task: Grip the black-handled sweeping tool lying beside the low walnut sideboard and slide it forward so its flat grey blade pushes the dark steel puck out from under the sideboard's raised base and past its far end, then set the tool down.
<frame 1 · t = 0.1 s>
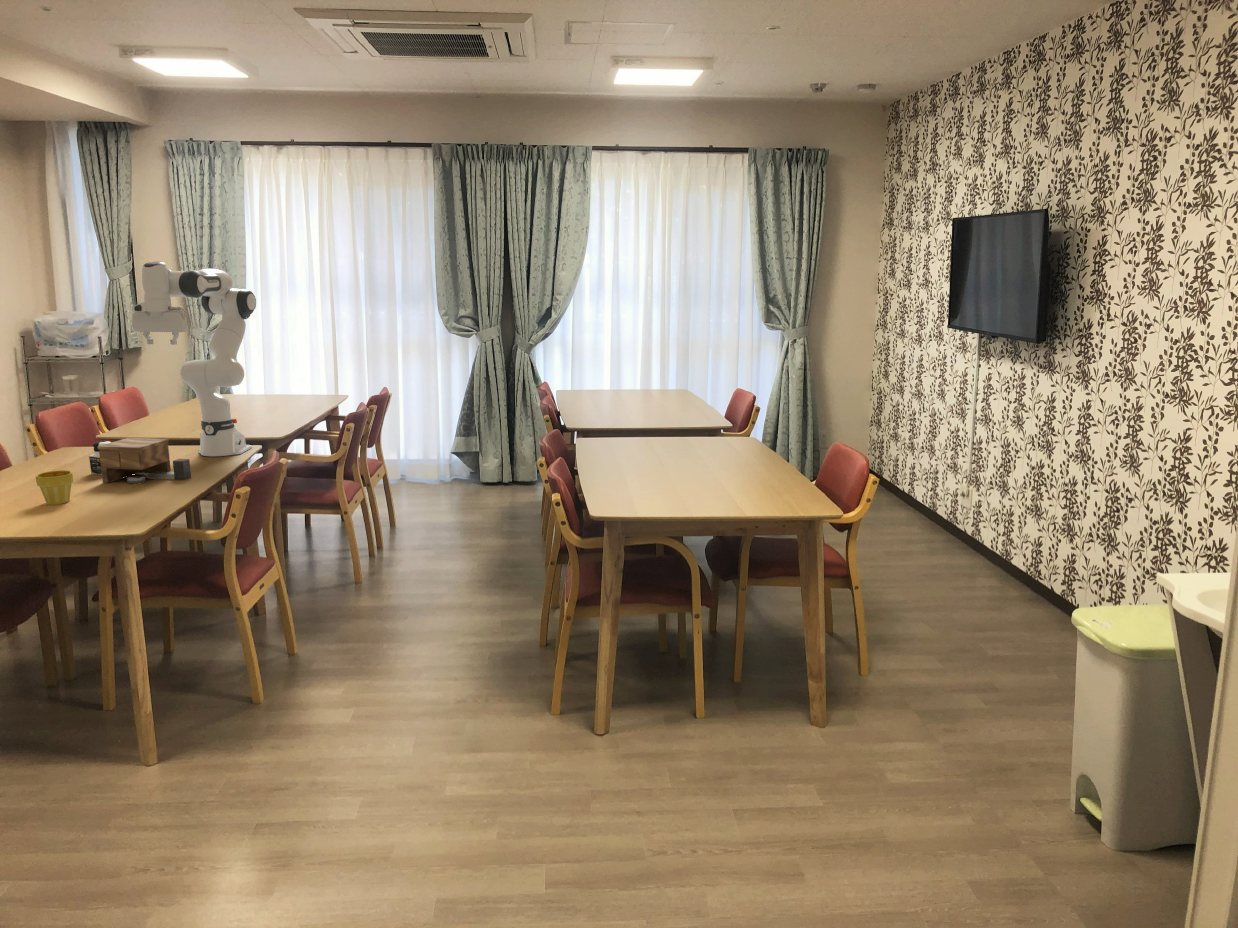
hand: (162, 344, 339), 48 cm above the table, tool pointing down, fingers open, 8 cm apart
blade tool: (182, 478, 335), on the table
plant pot: (57, 502, 301), on the table
medicine bottle: (106, 473, 344), on the table
steel puck: (136, 482, 329), on the table
cabinet: (137, 478, 334), on the table
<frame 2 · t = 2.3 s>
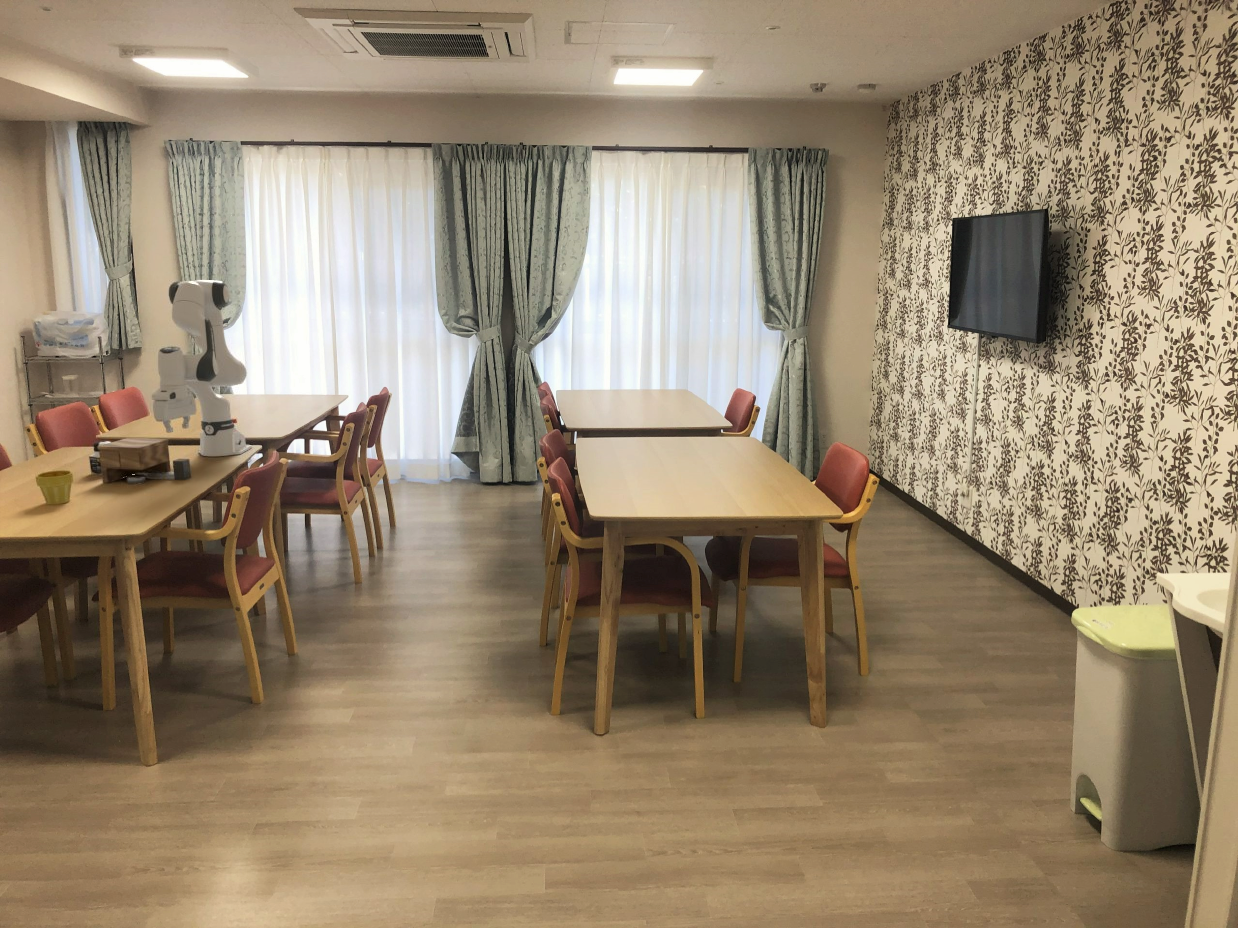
hand: (177, 430, 331), 18 cm above the table, tool pointing down, fingers open, 8 cm apart
nothing on the table moved.
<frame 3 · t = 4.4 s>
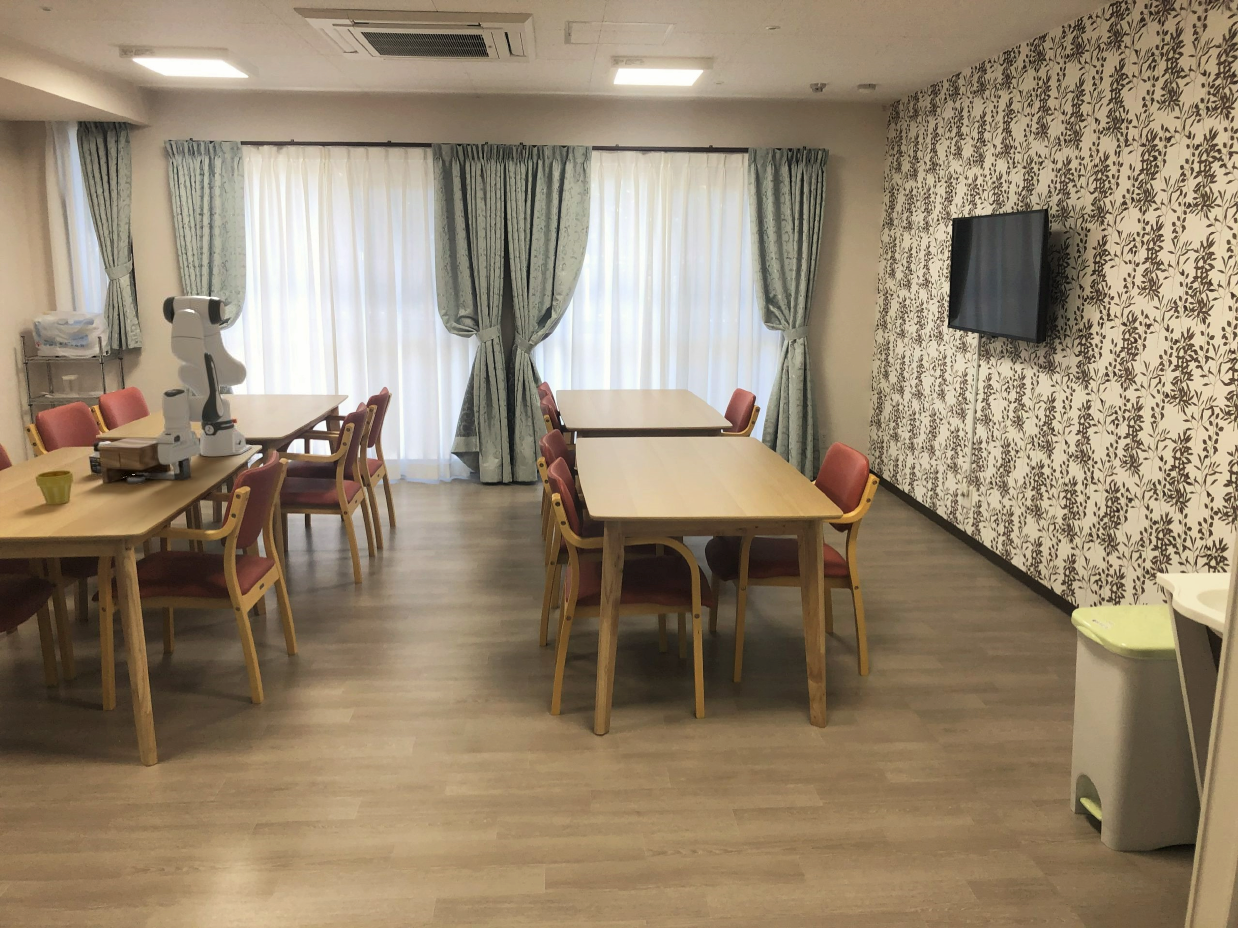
hand: (182, 471, 335), 3 cm above the table, tool pointing down, fingers closed on blade tool, 4 cm apart
blade tool: (182, 478, 335), on the table, touching gripper
everything else where it was.
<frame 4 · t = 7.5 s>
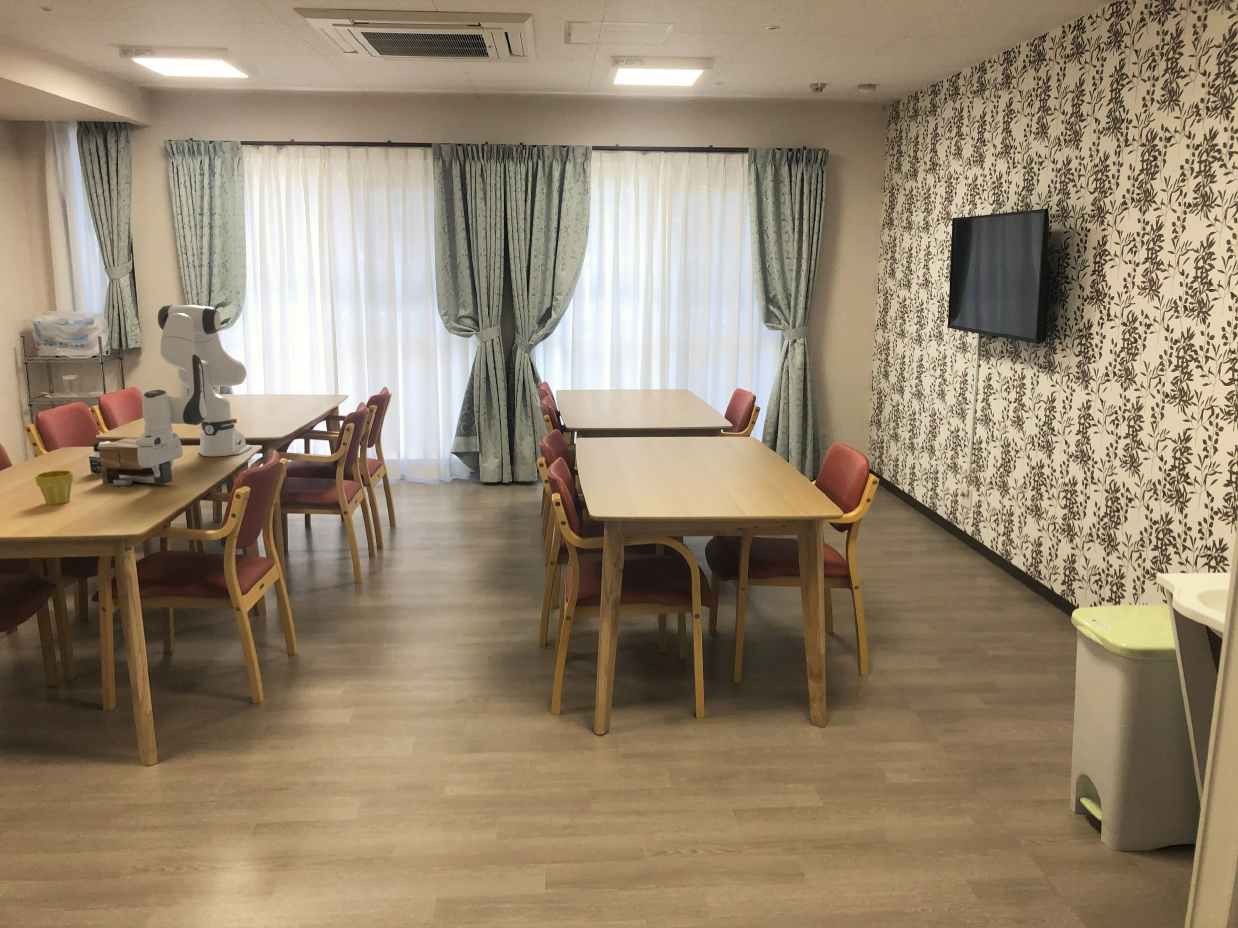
hand: (163, 475, 324), 4 cm above the table, tool pointing down, fingers closed on blade tool, 4 cm apart
blade tool: (163, 482, 324), point 1 cm above the table, touching gripper, steel puck
steel puck: (123, 486, 323), on the table, touching blade tool
everything else where it was.
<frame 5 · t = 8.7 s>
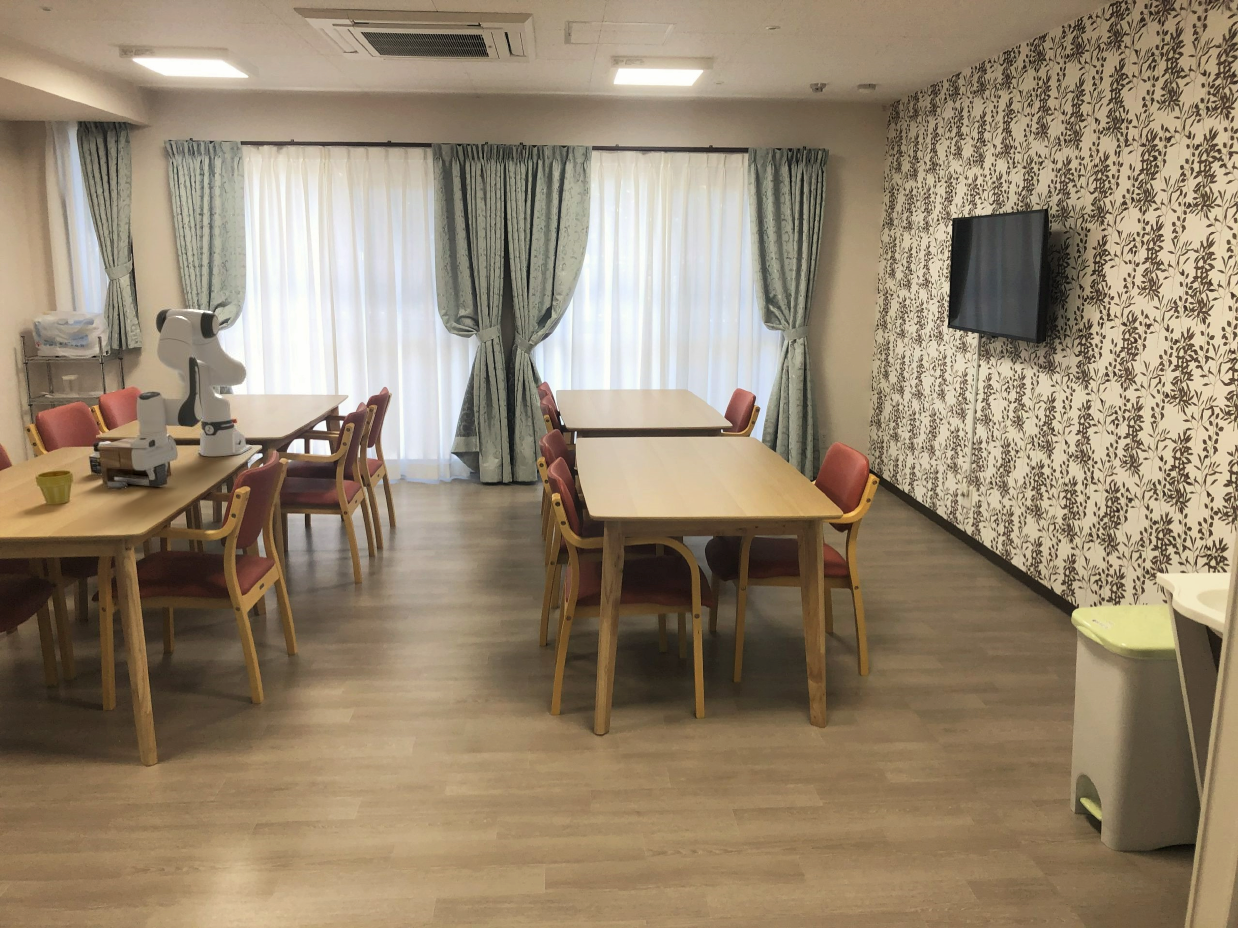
hand: (158, 477, 321), 4 cm above the table, tool pointing down, fingers closed on blade tool, 4 cm apart
blade tool: (158, 484, 322), point 1 cm above the table, touching gripper, steel puck
steel puck: (117, 488, 321), on the table, touching blade tool
everything else where it was.
when the fingers open (3 cm above the table, at t = 10.6 s): blade tool stays where it is, on the table.
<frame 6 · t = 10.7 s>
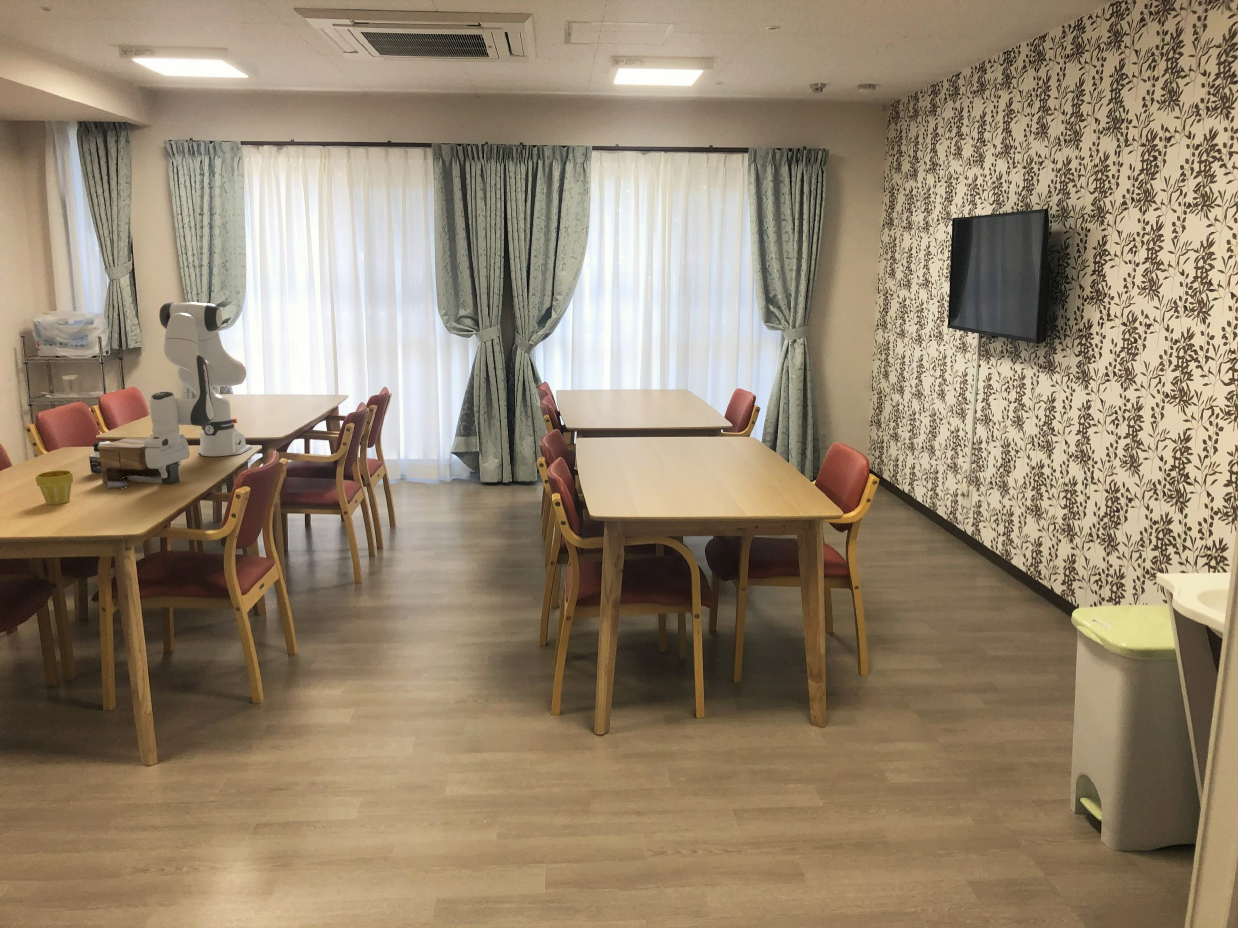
hand: (170, 475, 328), 3 cm above the table, tool pointing down, fingers open, 5 cm apart
blade tool: (170, 482, 329), on the table
steel puck: (117, 488, 321), on the table
everything else where it was.
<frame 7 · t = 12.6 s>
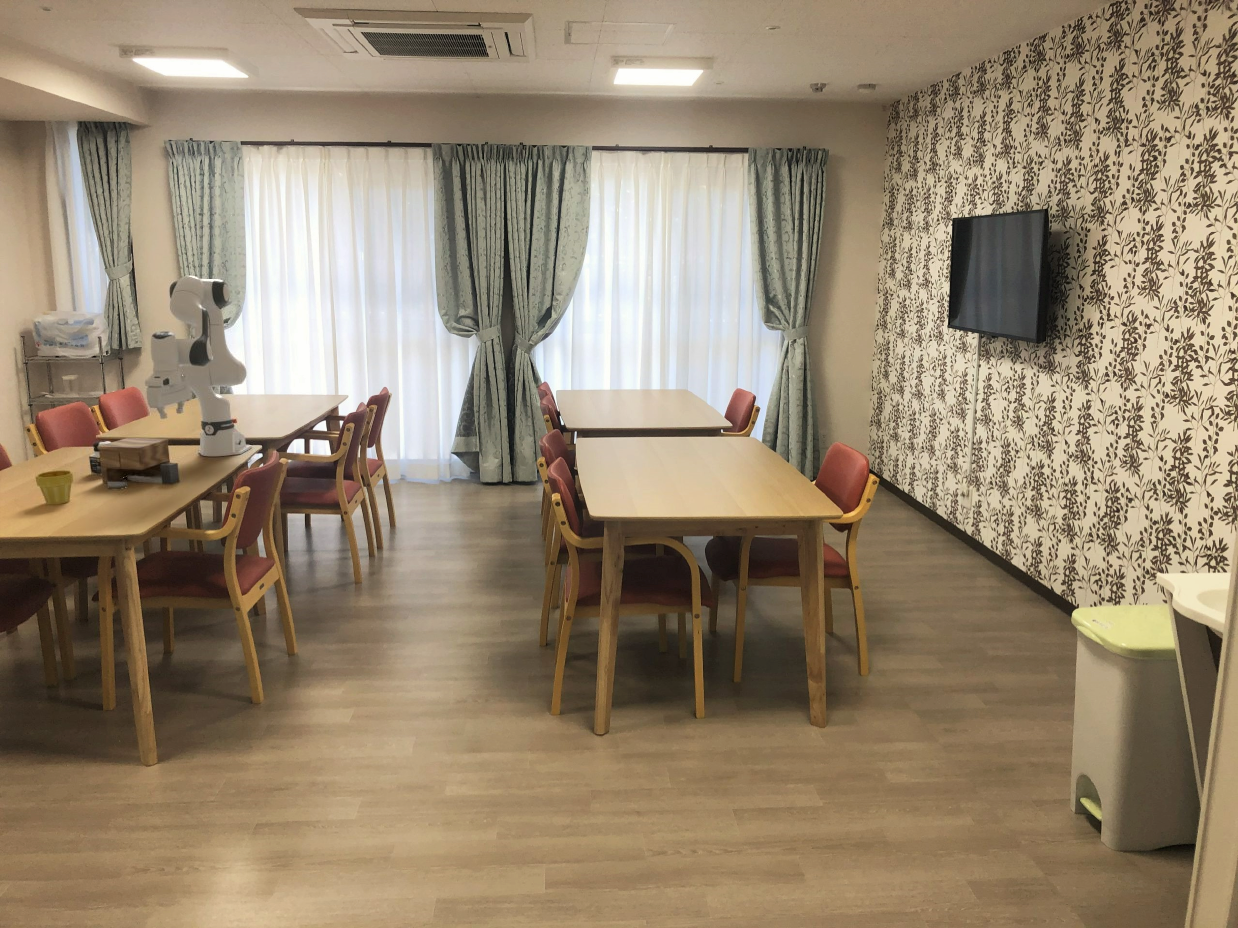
hand: (172, 415, 329), 24 cm above the table, tool pointing down, fingers open, 8 cm apart
nothing on the table moved.
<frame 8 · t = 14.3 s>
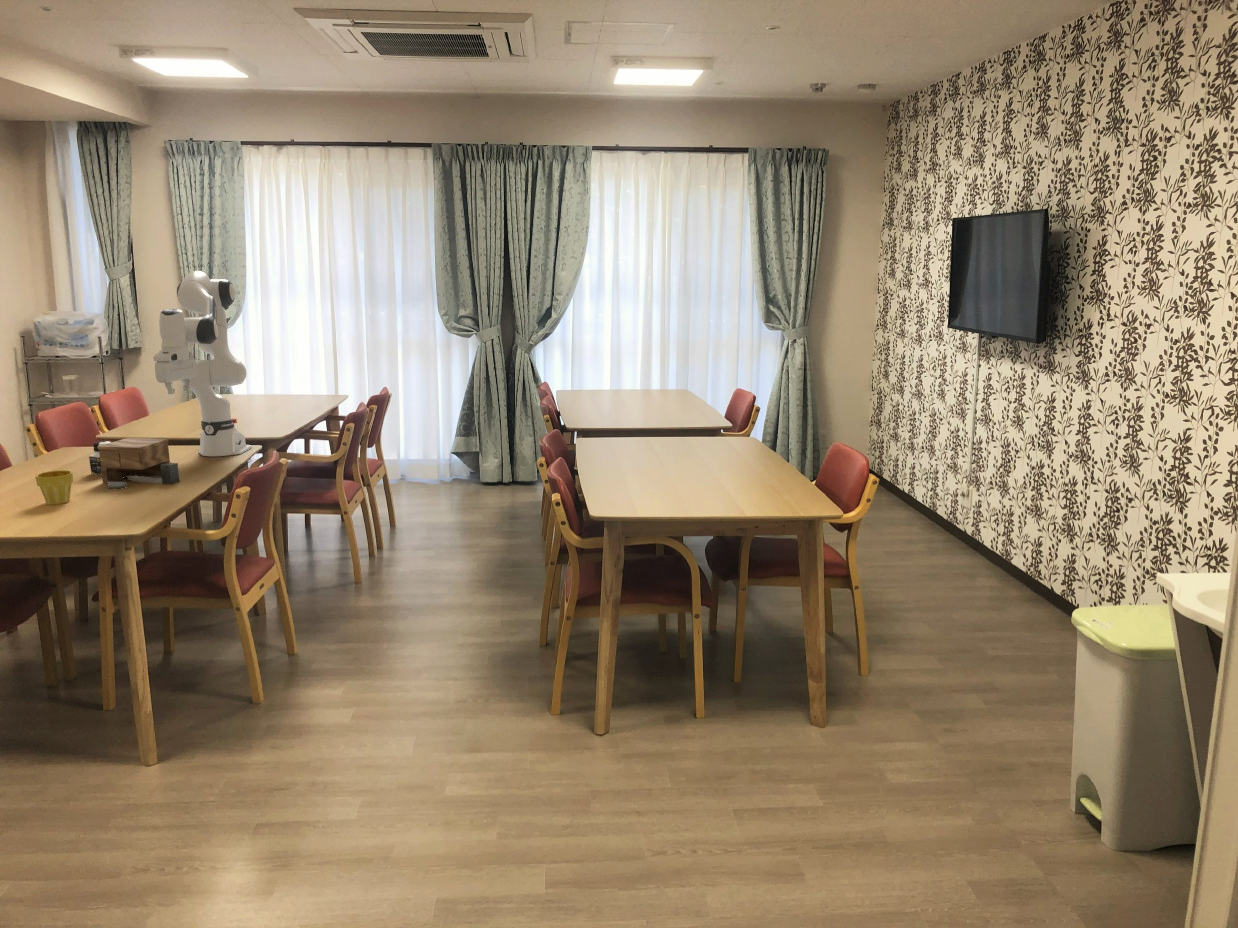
hand: (179, 392, 335), 31 cm above the table, tool pointing down, fingers open, 8 cm apart
nothing on the table moved.
at the end: steel puck inside the target area (8.6 cm from its centre), on the table; steel puck moved 8.6 cm from its start; blade tool on the table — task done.
